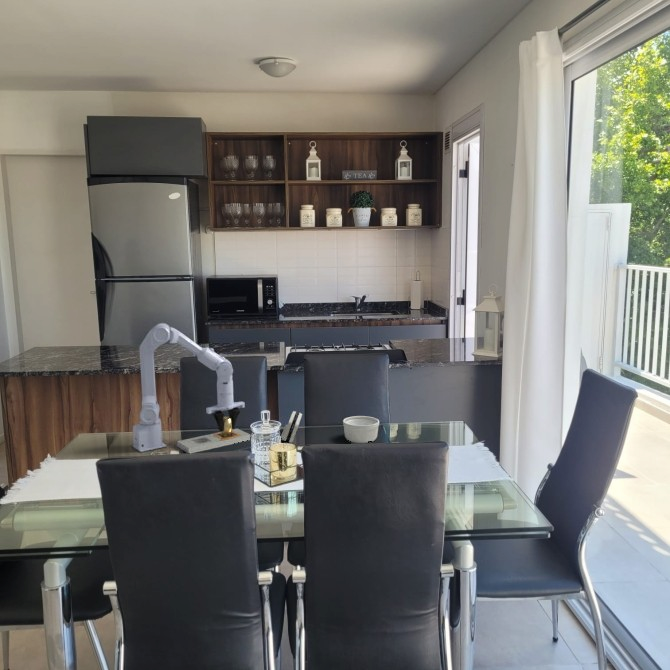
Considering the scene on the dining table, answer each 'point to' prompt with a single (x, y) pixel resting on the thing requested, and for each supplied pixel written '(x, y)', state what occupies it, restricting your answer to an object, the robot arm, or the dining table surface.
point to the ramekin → (361, 429)
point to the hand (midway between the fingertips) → (226, 429)
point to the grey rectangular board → (212, 441)
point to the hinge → (289, 429)
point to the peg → (227, 427)
